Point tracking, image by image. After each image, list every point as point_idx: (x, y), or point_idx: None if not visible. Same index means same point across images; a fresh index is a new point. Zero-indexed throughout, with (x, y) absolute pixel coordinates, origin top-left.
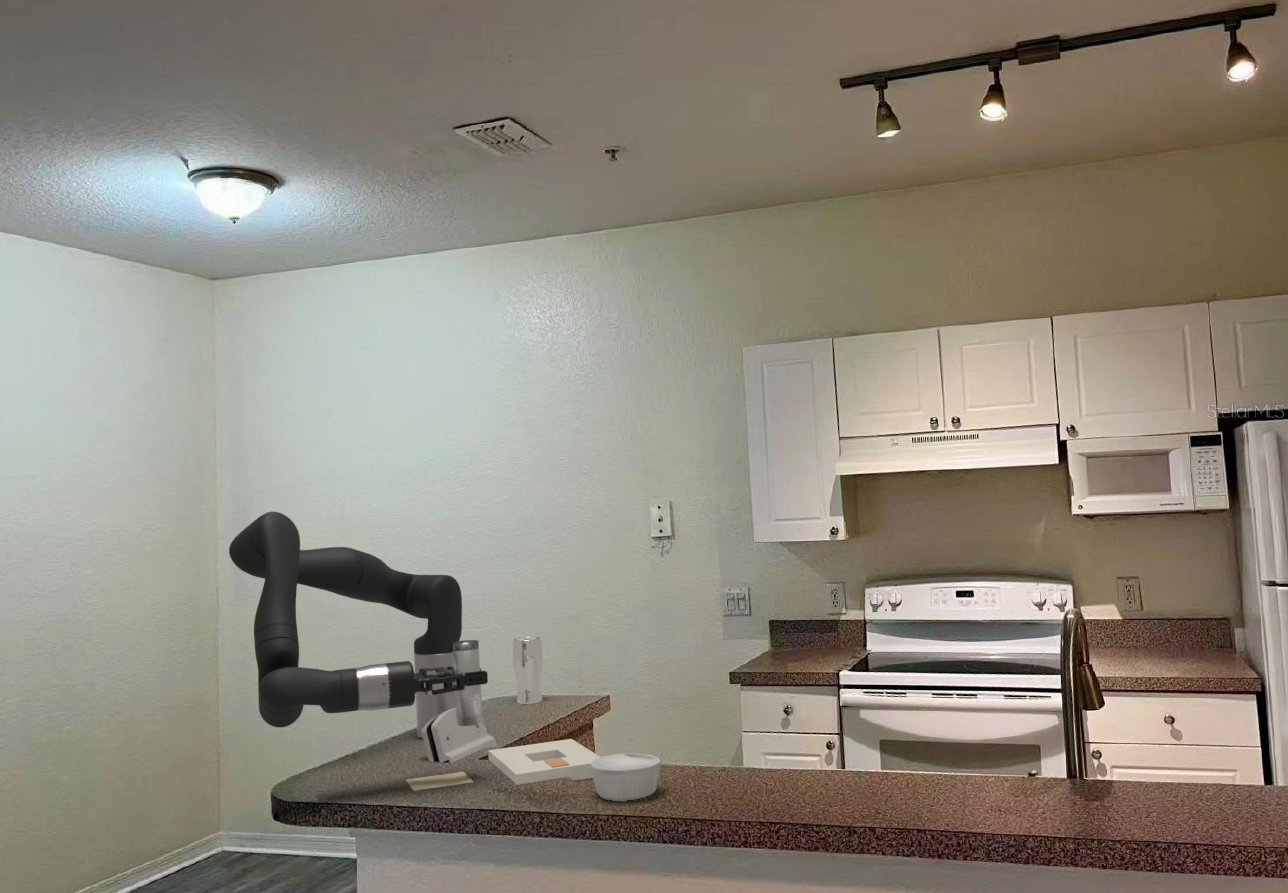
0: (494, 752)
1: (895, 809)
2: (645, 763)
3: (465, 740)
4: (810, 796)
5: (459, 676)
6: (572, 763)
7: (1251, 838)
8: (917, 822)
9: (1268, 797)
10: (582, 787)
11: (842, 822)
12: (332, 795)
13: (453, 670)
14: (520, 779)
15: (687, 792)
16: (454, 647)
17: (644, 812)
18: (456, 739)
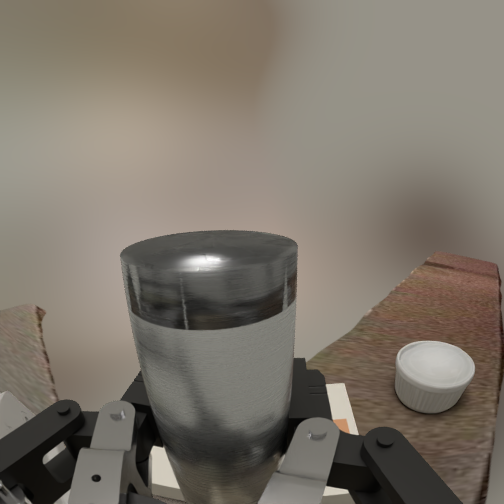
0: (160, 479)
1: (471, 297)
2: (447, 349)
3: (44, 462)
4: (447, 312)
5: (411, 446)
6: (336, 415)
7: (490, 263)
8: (490, 297)
9: (448, 253)
10: (387, 426)
11: (495, 312)
12: None
13: (135, 431)
14: None
15: None
16: (217, 303)
17: (489, 383)
18: None
